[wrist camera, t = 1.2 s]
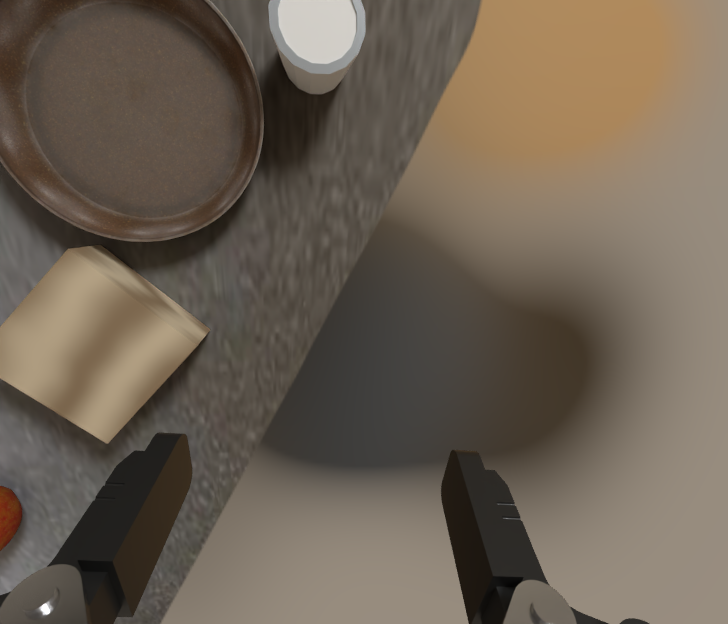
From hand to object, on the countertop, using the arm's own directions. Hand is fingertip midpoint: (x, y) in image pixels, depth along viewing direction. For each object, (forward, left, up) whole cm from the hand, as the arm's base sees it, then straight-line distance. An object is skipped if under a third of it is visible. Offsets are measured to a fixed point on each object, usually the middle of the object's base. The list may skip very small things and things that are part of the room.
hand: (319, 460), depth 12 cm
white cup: (-13, +16, -28) cm, 35 cm away
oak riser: (-10, -15, -28) cm, 33 cm away
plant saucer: (-20, +2, -28) cm, 35 cm away
